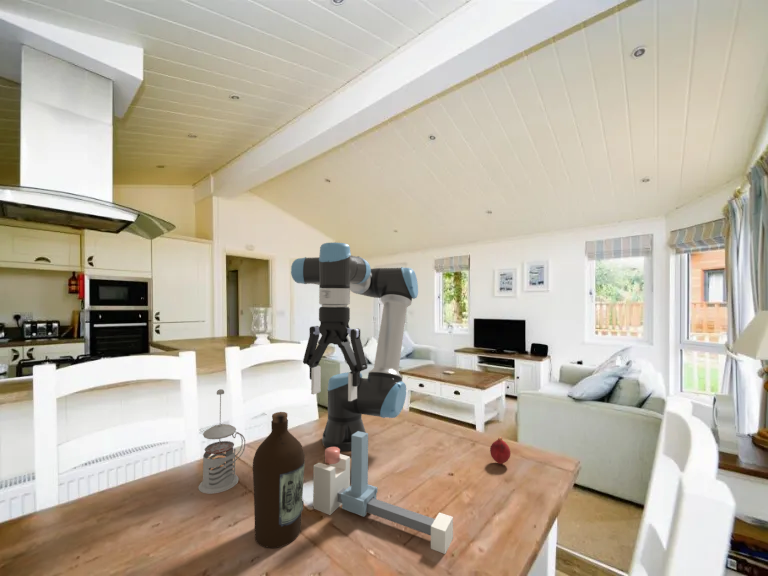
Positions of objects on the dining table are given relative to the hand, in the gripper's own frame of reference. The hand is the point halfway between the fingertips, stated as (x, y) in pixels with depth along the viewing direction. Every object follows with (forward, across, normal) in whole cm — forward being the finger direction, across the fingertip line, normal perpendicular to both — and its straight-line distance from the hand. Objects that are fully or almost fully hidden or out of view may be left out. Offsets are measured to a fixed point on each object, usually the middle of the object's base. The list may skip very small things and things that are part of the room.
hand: (333, 396), depth 84 cm
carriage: (+24, +8, 0) cm, 25 cm away
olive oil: (+26, -4, -14) cm, 30 cm away
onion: (+26, +33, +40) cm, 58 cm away
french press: (+26, -32, -7) cm, 42 cm away
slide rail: (+26, +14, 0) cm, 29 cm away
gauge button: (+16, 0, 0) cm, 16 cm away
